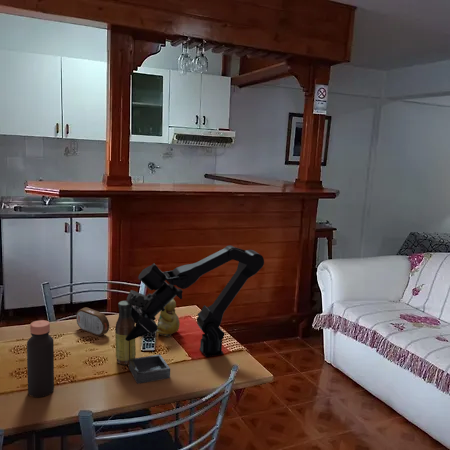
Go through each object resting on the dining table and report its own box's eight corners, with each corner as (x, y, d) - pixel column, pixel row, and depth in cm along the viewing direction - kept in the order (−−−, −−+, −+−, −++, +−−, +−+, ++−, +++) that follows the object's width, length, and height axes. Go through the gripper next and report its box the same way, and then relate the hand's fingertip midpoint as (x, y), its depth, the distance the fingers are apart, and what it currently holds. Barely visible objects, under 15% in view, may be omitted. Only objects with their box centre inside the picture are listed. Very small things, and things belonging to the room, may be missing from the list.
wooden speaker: (109, 336, 168) (110, 314, 167) (103, 339, 166) (103, 316, 164) (81, 325, 176) (81, 304, 175) (74, 328, 173) (74, 306, 172)
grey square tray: (159, 363, 150) (160, 354, 150) (170, 377, 141) (170, 368, 141) (128, 368, 146) (128, 359, 146) (137, 383, 137) (137, 374, 137)
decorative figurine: (159, 327, 179) (161, 289, 176) (181, 328, 178) (182, 291, 176) (154, 337, 169) (155, 297, 167) (176, 339, 169) (178, 299, 166)
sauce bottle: (131, 355, 155) (132, 297, 151) (138, 363, 150) (140, 304, 146) (112, 359, 151) (112, 300, 148) (119, 367, 146) (119, 307, 143)
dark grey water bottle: (28, 399, 126) (26, 329, 122) (27, 387, 132) (26, 320, 128) (54, 395, 129) (54, 326, 125) (53, 383, 135) (52, 317, 131)
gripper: (138, 274, 156) (103, 307, 154) (148, 292, 139) (109, 330, 137) (160, 295, 160) (127, 328, 158) (172, 315, 143) (135, 352, 141)
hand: (124, 334), depth 149 cm, fingers open, 9 cm apart
